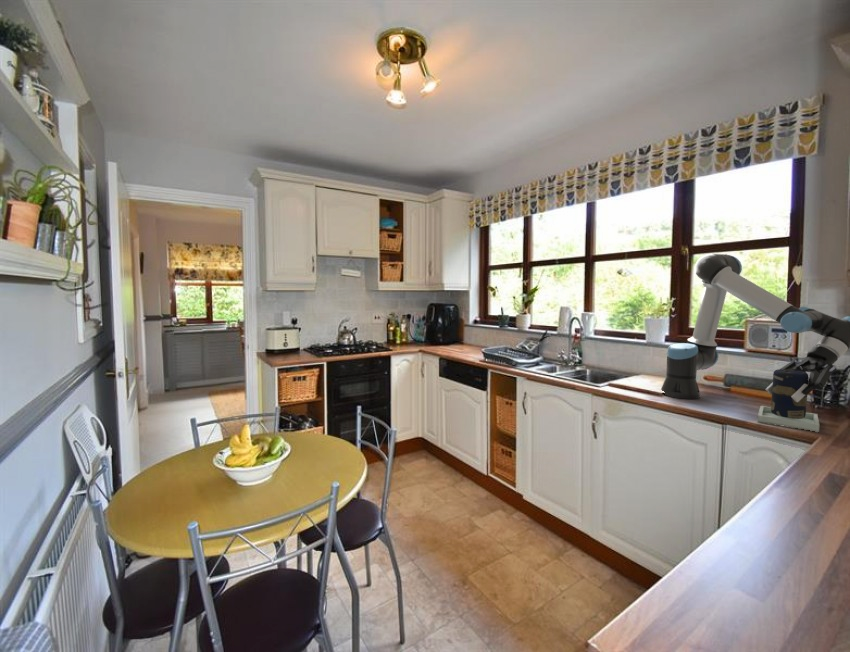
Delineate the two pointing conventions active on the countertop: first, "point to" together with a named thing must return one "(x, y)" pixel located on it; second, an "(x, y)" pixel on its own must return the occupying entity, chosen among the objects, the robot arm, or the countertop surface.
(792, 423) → the tray
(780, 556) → the countertop surface
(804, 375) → the canister
